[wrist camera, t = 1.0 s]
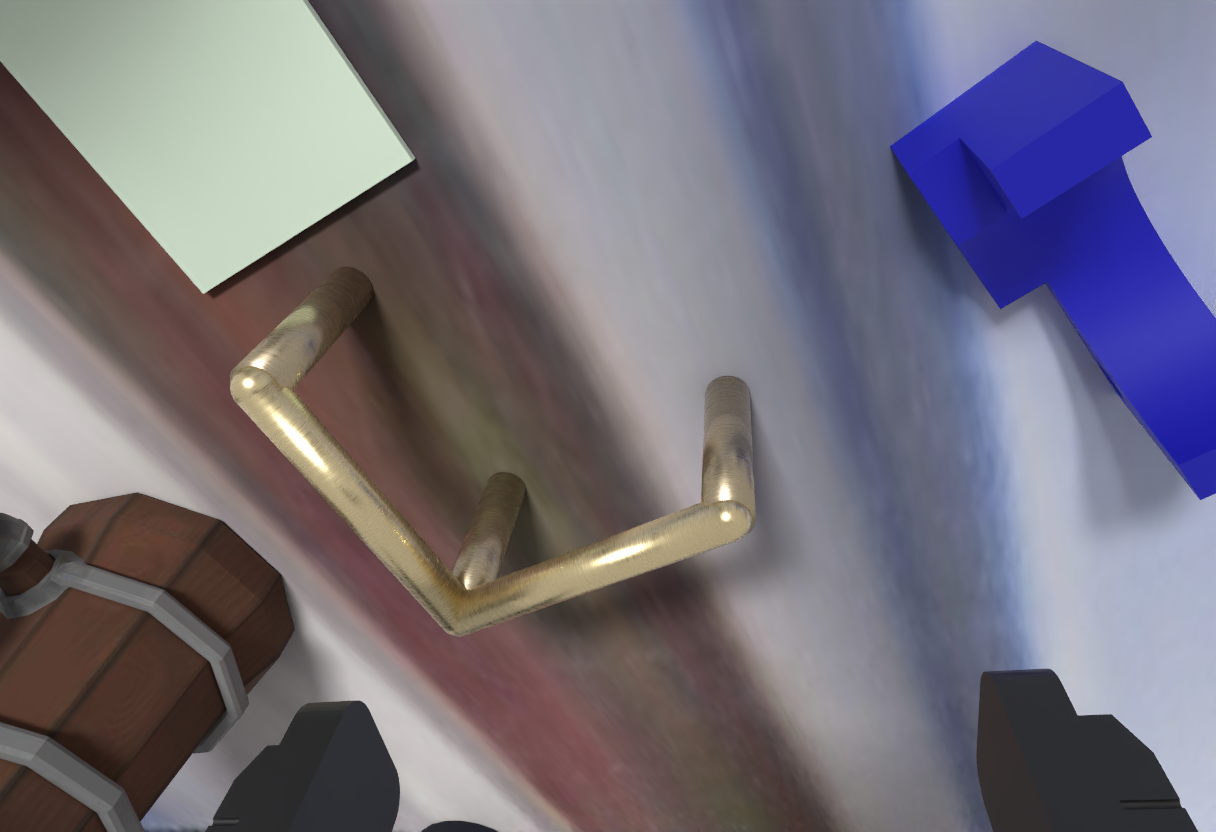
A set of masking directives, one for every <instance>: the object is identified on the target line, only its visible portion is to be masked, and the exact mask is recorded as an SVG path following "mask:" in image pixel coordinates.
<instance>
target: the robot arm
mask: <svg viewBox="0 0 1216 832" xmlns="http://www.w3.org/2000/svg"><path fill="white" fill-rule="evenodd" d="M977 768H978V775H979V781H980V787H981V792H982V796H983V800H984V804H985V807H986V810H987V813H988V816H989V819H990V822H991V825H992V828H993V832H1198V831H1197V829H1196V827H1195V825H1194V823H1193V822H1192V820H1191V818H1190V816H1189V815H1188V813H1187V811H1186V809H1185V808H1182V807H1181V805H1180V799H1179V797H1178V795H1177V793H1176V792H1175V790H1174V788H1173V786H1172V785H1171V783H1170V781H1169V779H1168V778H1167V776H1166V774H1165V772H1164V770H1163V769H1162V767H1161V765H1160V763H1159V762H1158V760H1157V758H1156V756H1155V755H1154V753H1153V752H1152V751H1151V750H1150V749H1149V748H1148V747H1147V746H1145V745H1144V744H1143V743H1142V742H1141V741H1140V740H1139V739H1138V738H1137V737H1136V736H1134V735H1133V734H1132V733H1131V732H1130V731H1129V730H1128V729H1127V728H1126V727H1125V726H1124V725H1122V724H1121V723H1120V722H1119V721H1118V720H1117V719H1116V718H1115V717H1114V716H1113V715H1111V714H1110V715H1085V716H1077V714H1076V711H1075V709H1074V707H1073V705H1072V703H1071V701H1070V699H1069V697H1068V695H1067V693H1066V691H1065V689H1064V687H1063V685H1062V683H1061V681H1060V680H1059V678H1058V676H1057V675H1056V674H1055V672H1054V671H1053V670H1051V669H1031V670H1011V671H991V672H984V673H983V674H982V676H981V683H980V701H979V719H978V738H977ZM399 799H400V785H399V778H398V773H397V770H396V768H395V766H394V764H393V761H392V759H391V757H390V755H389V753H388V750H387V748H386V746H385V744H384V742H383V740H382V737H381V735H380V733H379V731H378V729H377V726H376V724H375V722H374V720H373V718H372V716H371V713H370V711H369V709H368V707H367V706H366V705H365V704H364V703H363V702H362V701H341V702H321V703H308V704H306V705H304V706H303V707H301V708H300V710H299V711H298V712H297V713H296V715H295V717H294V719H293V720H292V722H291V724H290V726H289V728H288V730H287V732H286V734H285V735H284V737H283V739H282V741H281V743H280V745H273V746H267V747H266V748H265V749H264V750H263V751H262V752H261V753H260V754H259V755H258V756H257V757H256V758H255V759H254V760H253V761H252V762H251V763H250V764H249V765H248V766H247V767H246V768H245V770H244V771H243V772H242V773H241V774H240V775H239V776H238V777H237V778H236V779H235V780H234V782H233V784H232V785H231V787H230V789H229V791H228V793H227V794H226V796H225V798H224V800H223V801H222V803H221V805H220V807H219V808H218V810H217V812H216V814H215V816H214V817H213V820H214V821H213V825H212V826H208V828H207V830H206V831H205V832H392V829H393V826H394V824H395V820H396V817H397V813H398V808H399Z"/></svg>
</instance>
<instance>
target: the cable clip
mask: <svg viewBox="0 0 1216 832" xmlns="http://www.w3.org/2000/svg"><path fill="white" fill-rule="evenodd" d="M1151 137H1152V136H1151V134H1150V132H1149V130H1148V128H1147V126H1146V125H1145V123H1144V121H1143V119H1142V117H1141V115H1140V113H1139V112H1138V110H1137V108H1136V106H1135V104H1134V102H1133V100H1132V99H1131V97H1130V95H1129V93H1128V91H1127V89H1126V87H1125V86H1124V84H1123V82H1122V81H1120V80H1118V79H1116V78H1113V77H1111V76H1109V75H1107V74H1105V73H1103V72H1101V71H1099V70H1097V69H1095V68H1092V67H1090V66H1088V65H1086V64H1084V63H1082V62H1080V61H1078V60H1076V59H1074V58H1071V57H1069V56H1067V55H1065V54H1063V53H1061V52H1059V51H1057V50H1055V49H1052V48H1050V47H1048V46H1046V45H1044V44H1042V43H1040V42H1038V41H1035V42H1034V43H1032V44H1031V45H1030V46H1028V47H1027V48H1026V49H1024V50H1023V51H1021V52H1020V53H1019V54H1017V55H1016V56H1014V57H1013V58H1012V59H1010V60H1009V61H1008V62H1006V63H1005V64H1003V65H1002V66H1001V67H999V68H998V69H997V70H995V71H994V72H992V73H991V74H990V75H988V76H987V77H985V78H984V79H983V80H981V81H980V82H979V83H977V84H976V85H974V86H973V87H972V88H970V89H969V90H967V91H966V92H965V93H963V94H962V95H961V96H959V97H958V98H956V99H955V100H954V101H952V102H951V103H950V104H948V105H947V106H945V107H944V108H943V109H941V110H940V111H938V112H937V113H936V114H934V115H933V116H932V117H930V118H929V119H927V120H926V121H925V122H923V123H922V124H921V125H919V126H918V127H916V128H915V129H914V130H912V131H911V132H909V133H908V134H907V135H905V136H904V137H903V138H901V139H900V140H898V141H897V142H896V143H894V144H893V145H892V146H890V147H891V149H892V150H893V152H894V153H895V155H896V156H897V158H898V160H899V161H900V163H901V164H902V166H903V167H904V169H905V170H906V172H907V173H908V175H909V176H910V178H911V179H912V181H913V182H914V184H915V185H916V187H917V188H918V189H919V191H920V192H921V194H922V195H923V197H924V198H925V200H926V201H927V203H928V204H929V206H930V207H931V209H932V210H933V212H934V213H935V214H936V216H937V217H938V219H939V220H940V222H941V223H942V225H943V226H944V228H945V229H946V231H947V232H948V234H949V235H950V236H951V238H952V239H953V241H954V242H955V244H956V245H957V247H958V248H959V250H960V251H961V252H962V254H963V255H964V257H965V258H966V260H967V261H968V262H969V264H970V265H971V267H972V268H973V270H974V271H975V273H976V274H977V276H978V277H979V278H980V280H981V281H982V283H983V284H984V286H985V287H986V289H987V290H988V292H989V293H990V295H991V296H992V297H993V299H994V300H995V302H996V303H997V305H998V306H999V308H1000V309H1002V308H1003V307H1005V306H1007V305H1008V304H1010V303H1012V302H1013V301H1015V300H1017V299H1019V298H1020V297H1022V296H1024V295H1025V294H1027V293H1029V292H1030V291H1032V290H1034V289H1036V288H1037V287H1039V286H1041V285H1042V284H1044V283H1046V284H1047V286H1048V287H1049V289H1050V291H1051V292H1052V294H1053V295H1054V297H1055V298H1056V300H1057V301H1058V303H1059V305H1060V306H1061V308H1062V309H1063V311H1064V312H1065V314H1066V315H1067V317H1068V318H1069V320H1070V322H1071V323H1072V325H1073V326H1074V328H1075V329H1076V331H1077V332H1078V334H1079V336H1080V337H1081V339H1082V340H1083V342H1084V343H1085V345H1086V346H1087V348H1088V349H1089V351H1090V353H1091V354H1092V356H1093V357H1094V359H1095V360H1096V362H1097V363H1098V365H1099V367H1100V368H1101V370H1102V371H1103V373H1104V374H1105V376H1106V377H1107V379H1108V380H1109V382H1110V384H1111V385H1112V387H1113V388H1114V390H1115V391H1116V393H1117V394H1118V396H1119V397H1120V398H1121V399H1122V401H1123V402H1124V403H1125V405H1126V406H1127V407H1128V408H1129V410H1130V411H1131V412H1132V413H1133V415H1134V416H1135V417H1136V419H1137V420H1138V421H1139V422H1140V424H1141V425H1142V426H1143V428H1144V429H1145V430H1146V431H1147V433H1148V434H1149V435H1150V436H1151V438H1152V439H1153V440H1154V442H1155V443H1156V444H1157V445H1158V447H1159V448H1160V449H1161V451H1162V452H1163V453H1164V454H1165V456H1166V457H1167V458H1168V459H1169V461H1170V462H1171V463H1172V465H1173V466H1174V467H1175V468H1176V470H1177V471H1178V472H1179V474H1180V475H1181V476H1182V477H1183V479H1184V480H1185V481H1186V483H1187V484H1188V485H1189V486H1190V488H1191V489H1192V490H1193V491H1194V493H1195V494H1196V495H1197V497H1198V498H1199V499H1200V500H1202V499H1204V498H1206V497H1208V496H1211V495H1213V494H1215V493H1216V318H1215V317H1214V315H1213V314H1212V313H1211V312H1210V310H1209V309H1208V308H1207V306H1206V305H1205V304H1204V302H1203V301H1202V300H1201V298H1200V297H1199V296H1198V294H1197V293H1196V291H1195V290H1194V289H1193V287H1192V286H1191V284H1190V283H1189V282H1188V280H1187V279H1186V277H1185V276H1184V274H1183V273H1182V272H1181V270H1180V269H1179V267H1178V266H1177V264H1176V263H1175V261H1174V260H1173V258H1172V257H1171V255H1170V253H1169V252H1168V250H1167V249H1166V247H1165V246H1164V244H1163V242H1162V241H1161V239H1160V237H1159V236H1158V234H1157V232H1156V231H1155V229H1154V227H1153V226H1152V224H1151V222H1150V220H1149V219H1148V217H1147V215H1146V213H1145V211H1144V209H1143V207H1142V206H1141V204H1140V202H1139V200H1138V198H1137V196H1136V193H1135V191H1134V189H1133V187H1132V185H1131V182H1130V180H1129V177H1128V175H1127V172H1126V170H1125V166H1124V163H1123V160H1122V155H1124V154H1125V153H1127V152H1129V151H1130V150H1132V149H1133V148H1135V147H1137V146H1138V145H1140V144H1141V143H1143V142H1144V141H1146V140H1148V139H1149V138H1151Z"/></svg>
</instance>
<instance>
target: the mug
mask: <svg viewBox="0 0 1216 832" xmlns="http://www.w3.org/2000/svg"><path fill="white" fill-rule="evenodd" d="M32 535H33V530H32V528H31V527H30V526H29V525H28V524H27V523H25V522H24V521H23V520H21V519H16V518H14V517H12V516H9V515H7V514H4V513H0V832H145V831H144V829H143V827H142V825H141V823H140V821H141V820H142V819H143V817H144V816H145V815H146V813H147V812H148V811H149V810H150V808H151V807H152V806H153V804H154V803H155V802H156V800H157V799H158V798H159V796H160V795H161V794H162V793H163V791H164V790H165V789H166V787H167V786H168V785H169V783H170V782H171V781H172V779H173V778H174V777H175V775H176V774H177V773H178V772H179V770H180V769H181V768H182V766H183V765H184V764H185V762H186V761H187V760H188V758H189V757H190V756H191V755H192V753H203V752H209V751H211V750H212V749H213V748H214V747H215V745H216V744H217V743H218V742H219V741H220V740H221V738H222V737H223V736H224V735H225V734H226V733H227V732H228V730H229V729H230V728H231V727H232V726H233V725H234V723H235V722H236V721H237V720H238V719H239V718H240V717H241V715H242V714H243V712H244V711H245V709H246V707H247V706H248V704H249V703H248V698H247V694H248V693H249V692H250V691H251V690H252V688H253V687H254V686H255V685H256V684H257V683H258V681H259V680H260V679H261V678H262V677H263V675H264V674H265V673H266V672H267V671H268V670H269V668H270V667H271V666H272V665H273V664H274V663H275V661H276V660H277V659H278V658H279V656H280V654H281V653H282V651H283V649H284V647H285V646H286V644H287V642H288V640H289V639H290V637H291V635H292V634H293V632H294V628H293V624H292V620H291V617H290V613H289V609H288V605H287V601H286V597H285V593H284V589H283V586H282V582H281V578H280V575H279V574H278V573H277V572H276V571H275V570H274V569H273V568H272V567H271V566H269V565H268V564H267V563H266V562H265V561H264V560H263V559H262V558H261V557H260V556H258V555H257V554H256V553H255V552H254V551H253V550H252V549H251V548H250V547H249V546H247V545H246V544H245V543H244V542H243V541H242V540H241V539H240V538H239V537H238V536H236V535H235V534H234V533H233V532H232V531H231V530H230V529H229V528H228V527H226V526H225V525H224V524H223V523H222V522H221V521H220V520H217V519H214V518H211V517H208V516H205V515H202V514H199V513H196V512H193V511H190V510H187V509H184V508H181V507H179V506H176V505H173V504H170V503H167V502H164V501H161V500H158V499H155V498H152V497H149V496H146V495H143V494H140V493H132V494H127V495H122V496H116V497H111V498H106V499H101V500H95V501H90V502H85V503H80V504H75V505H70V506H69V507H68V508H67V509H66V510H65V511H64V512H62V513H61V514H60V515H59V516H58V517H57V518H56V519H55V520H54V521H53V522H52V523H51V524H50V525H49V526H48V527H47V528H46V529H45V530H44V531H43V533H42V535H41V537H40V539H39V542H38V544H36V543H35V542H34V541H33V540H32V539H31V538H32Z"/></svg>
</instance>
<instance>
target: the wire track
mask: <svg viewBox="0 0 1216 832" xmlns="http://www.w3.org/2000/svg"><path fill="white" fill-rule="evenodd" d="M372 295H373V290H372V286H371V283H370V281H369V280H368V278H367V277H366V276H365V275H364V274H363V273H362V272H360V271H359V270H357V269H354V268H351V267H342V268H338V269H336V270H335V271H334V272H333V273H332V274H331V275H330V276H329V277H328V278H327V279H326V280H325V281H324V282H323V283H322V284H320V285H319V286H318V287H317V288H316V289H315V290H314V291H313V292H312V293H311V294H310V295H309V296H308V297H307V298H306V299H305V300H304V301H303V302H302V303H301V304H300V305H299V306H298V307H297V308H296V309H295V310H294V311H293V312H292V313H291V314H290V315H288V316H287V317H286V318H285V319H284V320H283V321H282V322H281V323H280V324H279V325H278V326H277V327H276V328H275V329H274V330H273V331H272V332H271V333H270V334H269V335H268V336H267V337H266V338H265V339H264V340H263V341H262V342H261V343H260V344H259V345H258V346H256V347H255V348H254V349H253V350H252V351H251V352H250V353H249V354H248V355H247V356H246V357H245V358H244V359H243V360H242V361H241V362H240V363H239V364H238V365H237V366H236V367H235V368H234V369H233V370H232V372H231V374H230V390H231V394H232V397H233V399H234V400H235V401H236V403H237V404H238V405H239V406H240V407H241V408H242V409H243V410H244V412H245V413H246V414H247V415H248V416H249V417H250V418H251V419H252V420H253V421H254V422H255V424H256V425H257V426H258V427H259V428H260V429H261V430H262V431H263V432H264V433H265V434H266V436H267V437H268V438H269V439H270V440H271V441H272V442H273V443H274V444H275V445H276V447H277V448H278V449H279V450H280V451H281V452H282V453H283V454H284V455H285V456H286V457H287V459H288V460H289V461H290V462H291V463H292V464H293V465H294V466H295V467H296V468H297V469H298V471H299V472H300V473H301V474H302V475H303V476H304V477H305V478H306V479H307V480H308V482H309V483H310V484H311V485H312V486H313V487H314V488H315V489H316V490H317V491H318V492H319V494H320V495H321V496H322V497H323V498H324V499H325V500H326V501H327V502H328V503H329V504H330V506H331V507H332V508H333V509H334V510H335V511H336V512H337V513H338V514H339V515H340V517H341V518H342V519H343V520H344V521H345V522H346V523H347V524H348V525H349V526H350V527H351V529H352V530H353V531H354V532H355V533H356V534H357V535H358V536H359V537H360V538H361V539H362V541H363V542H364V543H365V544H366V545H367V546H368V547H369V548H370V549H371V550H372V552H373V553H374V554H375V555H376V556H377V557H378V558H379V559H380V560H381V561H382V562H383V564H384V565H385V566H386V567H387V568H388V569H389V570H390V571H391V572H392V573H393V574H394V576H395V577H396V578H397V579H398V580H399V581H400V582H401V583H402V584H403V585H404V587H405V588H406V589H407V590H408V591H409V592H410V593H411V594H412V595H413V596H414V597H415V599H416V600H417V601H418V602H419V603H420V604H421V605H422V606H423V607H424V608H425V609H426V611H427V612H428V613H429V614H430V615H431V616H432V617H433V618H434V619H435V620H436V622H437V623H438V624H439V625H440V626H441V627H442V628H443V629H444V630H445V631H446V632H447V633H449V634H451V635H454V636H464V635H467V634H470V633H473V632H476V631H479V630H482V629H485V628H488V627H490V626H493V625H496V624H499V623H502V622H505V621H508V620H511V619H514V618H516V617H519V616H522V615H525V614H528V613H531V612H534V611H537V610H540V609H542V608H545V607H548V606H551V605H554V604H557V603H560V602H563V601H565V600H568V599H571V598H574V597H577V596H580V595H583V594H586V593H589V592H591V591H594V590H597V589H600V588H603V587H606V586H609V585H612V584H615V583H617V582H620V581H623V580H626V579H629V578H632V577H635V576H638V575H640V574H643V573H646V572H649V571H652V570H655V569H658V568H661V567H664V566H666V565H669V564H672V563H675V562H678V561H681V560H684V559H687V558H690V557H692V556H695V555H698V554H701V553H704V552H707V551H710V550H713V549H716V548H718V547H721V546H724V545H727V544H730V543H733V542H736V541H738V540H740V539H742V538H743V537H744V536H745V535H746V534H747V533H749V532H750V531H751V530H752V528H753V527H754V524H755V521H756V515H755V494H754V473H753V452H752V431H751V410H750V392H749V389H748V387H747V385H746V384H745V383H744V382H743V381H742V380H740V379H739V378H736V377H733V376H723V377H719V378H717V379H715V380H713V381H712V382H711V383H710V384H709V385H708V387H707V389H706V394H705V419H704V444H703V469H702V493H701V503H699V504H696V505H694V506H691V507H688V508H686V509H683V510H680V511H678V512H675V513H672V514H670V515H667V516H664V517H662V518H659V519H656V520H653V521H651V522H648V523H645V524H643V525H640V526H637V527H635V528H632V529H629V530H627V531H624V532H621V533H619V534H616V535H613V536H610V537H608V538H605V539H602V540H600V541H597V542H594V543H592V544H589V545H586V546H584V547H581V548H578V549H576V550H573V551H570V552H567V553H565V554H562V555H559V556H557V557H554V558H551V559H549V560H546V561H543V562H541V563H538V564H535V565H533V566H530V567H527V568H524V569H522V570H519V571H516V572H514V573H511V574H508V575H506V576H503V577H500V578H498V579H497V577H498V574H499V571H500V568H501V565H502V562H503V559H504V556H505V553H506V550H507V547H508V544H509V541H510V538H511V535H512V532H513V529H514V526H515V523H516V520H517V517H518V514H519V511H520V508H521V505H522V502H523V499H524V496H525V492H526V489H525V485H524V483H523V482H522V480H521V479H520V478H518V477H517V476H515V475H513V474H511V473H506V472H501V473H496V474H494V475H493V476H491V477H490V479H489V480H488V483H487V485H486V488H485V490H484V493H483V495H482V498H481V500H480V502H479V505H478V507H477V510H476V512H475V515H474V517H473V520H472V522H471V525H470V527H469V530H468V532H467V535H466V537H465V540H464V542H463V545H462V547H461V550H460V552H459V555H458V557H457V560H456V562H455V564H454V567H453V569H452V572H451V571H450V570H449V569H448V568H447V567H446V566H445V565H444V563H443V562H442V561H441V560H440V559H439V558H438V556H437V555H436V554H435V553H434V552H433V551H432V550H431V548H430V547H429V546H428V545H427V544H426V543H425V542H424V540H423V539H422V538H421V537H420V536H419V535H418V533H417V532H416V531H415V530H414V529H413V528H412V527H411V525H410V524H409V523H408V522H407V521H406V520H405V518H404V517H403V516H402V515H401V514H400V513H399V512H398V510H397V509H396V508H395V507H394V506H393V505H392V504H391V502H390V501H389V500H388V499H387V498H386V497H385V495H384V494H383V493H382V492H381V491H380V490H379V489H378V487H377V486H376V485H375V484H374V483H373V482H372V481H371V479H370V478H369V477H368V476H367V475H366V474H365V472H364V471H363V470H362V469H361V468H360V467H359V466H358V464H357V463H356V462H355V461H354V460H353V459H352V457H351V456H350V455H349V454H348V453H347V452H346V451H345V449H344V448H343V447H342V446H341V445H340V444H339V443H338V441H337V440H336V439H335V438H334V437H333V436H332V434H331V433H330V432H329V431H328V430H327V429H326V428H325V426H324V425H323V424H322V423H321V422H320V421H319V420H318V418H317V417H316V416H315V415H314V414H313V413H312V411H311V410H310V409H309V408H308V407H307V406H306V405H305V403H304V402H303V401H302V400H301V399H300V398H299V396H298V395H297V394H296V393H295V392H294V391H293V390H294V389H295V387H296V386H297V385H298V384H299V383H300V382H301V380H302V379H303V378H304V377H305V376H306V375H307V374H308V372H309V371H310V370H311V369H312V368H313V367H314V365H315V364H316V363H317V362H318V361H319V360H320V359H321V357H322V356H323V355H324V354H325V353H326V352H327V351H328V349H329V348H330V347H331V346H332V345H333V344H334V342H335V341H336V340H337V339H338V338H339V337H340V336H341V334H342V333H343V332H344V331H345V330H346V329H347V328H348V326H349V325H350V324H351V323H352V322H353V321H354V319H355V318H356V317H357V316H358V315H359V314H360V313H361V311H362V310H363V309H364V308H365V307H366V306H367V304H368V303H369V302H370V301H371V299H372Z"/></svg>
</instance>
